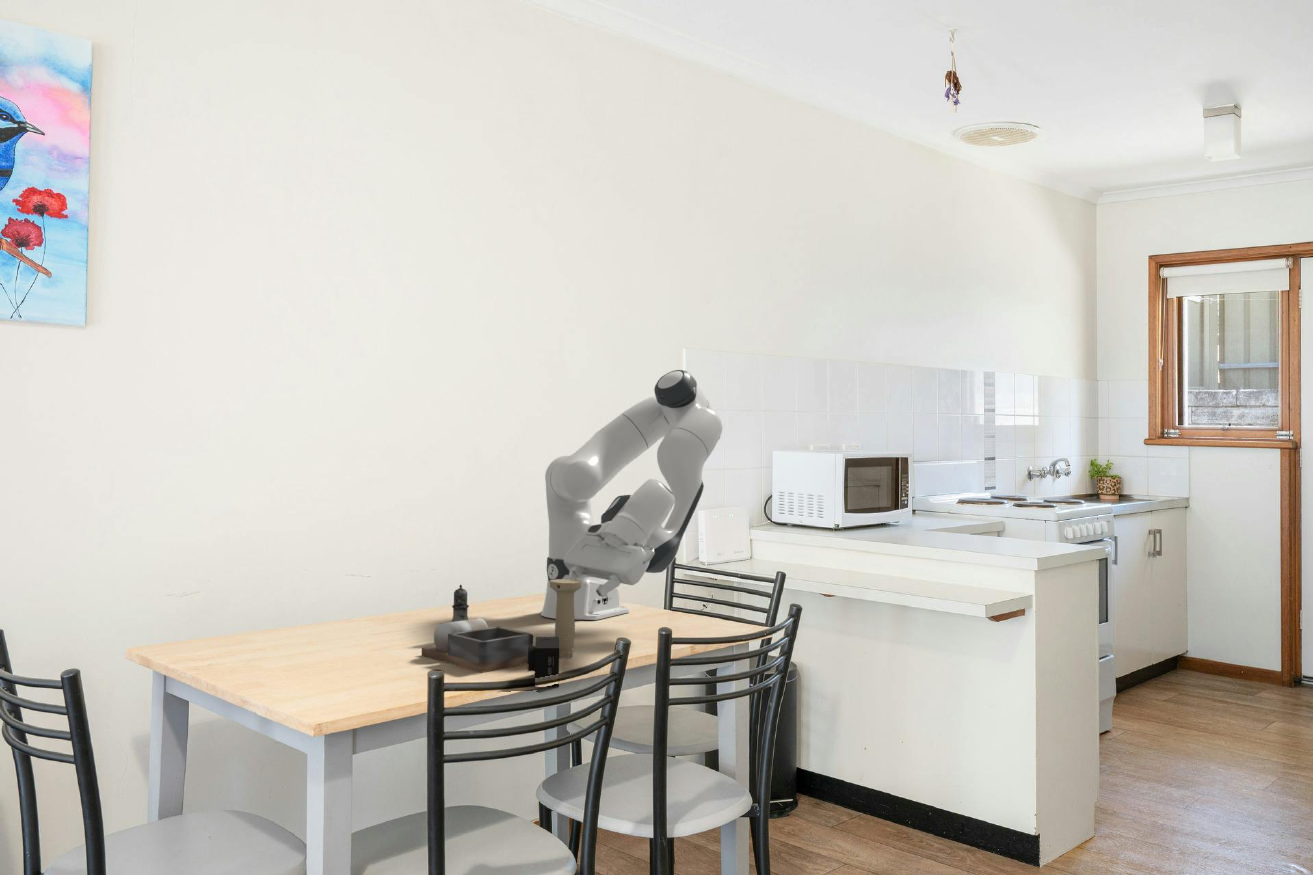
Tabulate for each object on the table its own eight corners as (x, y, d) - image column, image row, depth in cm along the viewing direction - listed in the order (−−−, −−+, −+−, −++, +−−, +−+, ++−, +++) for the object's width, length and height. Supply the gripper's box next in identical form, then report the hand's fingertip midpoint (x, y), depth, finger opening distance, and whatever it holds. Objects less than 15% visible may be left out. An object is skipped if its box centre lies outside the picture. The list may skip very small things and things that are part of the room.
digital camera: (529, 673, 187) (529, 635, 187) (558, 673, 188) (559, 635, 188) (527, 687, 177) (527, 647, 177) (558, 687, 178) (559, 647, 178)
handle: (570, 660, 198) (572, 583, 198) (544, 657, 202) (545, 581, 202) (584, 656, 203) (585, 581, 203) (558, 652, 206) (559, 578, 206)
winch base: (471, 646, 210) (472, 614, 210) (532, 662, 196) (533, 627, 196) (421, 655, 202) (422, 621, 202) (481, 672, 188) (482, 635, 188)
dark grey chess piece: (440, 640, 216) (441, 584, 216) (462, 636, 221) (463, 581, 221) (456, 644, 212) (457, 587, 212) (479, 640, 217) (480, 584, 217)
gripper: (665, 558, 206) (627, 609, 199) (596, 545, 220) (558, 593, 213) (651, 536, 203) (612, 588, 196) (582, 525, 217) (543, 572, 210)
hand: (583, 590), depth 205 cm, fingers open, 8 cm apart
